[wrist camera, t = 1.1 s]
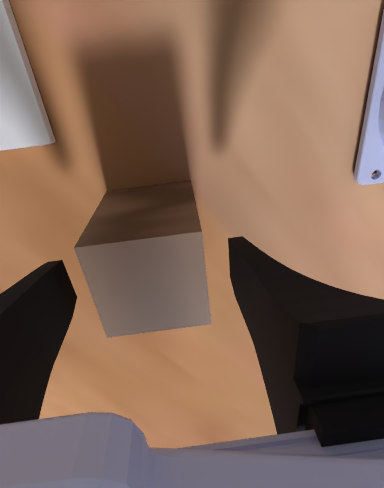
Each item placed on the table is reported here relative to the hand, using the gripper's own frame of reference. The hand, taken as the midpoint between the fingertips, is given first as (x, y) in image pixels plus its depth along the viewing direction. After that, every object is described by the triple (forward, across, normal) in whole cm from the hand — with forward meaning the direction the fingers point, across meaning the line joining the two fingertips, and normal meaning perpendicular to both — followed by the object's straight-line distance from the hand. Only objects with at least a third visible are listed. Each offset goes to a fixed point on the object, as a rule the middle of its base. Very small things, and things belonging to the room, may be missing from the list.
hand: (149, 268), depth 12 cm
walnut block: (+4, 0, 0) cm, 5 cm away
